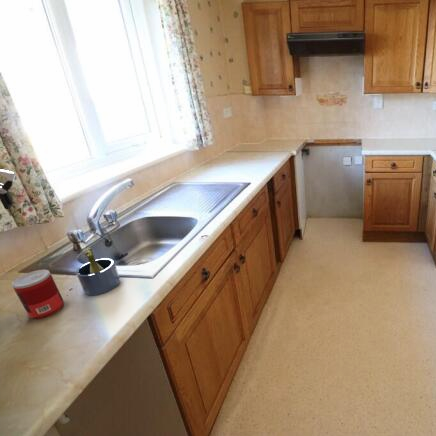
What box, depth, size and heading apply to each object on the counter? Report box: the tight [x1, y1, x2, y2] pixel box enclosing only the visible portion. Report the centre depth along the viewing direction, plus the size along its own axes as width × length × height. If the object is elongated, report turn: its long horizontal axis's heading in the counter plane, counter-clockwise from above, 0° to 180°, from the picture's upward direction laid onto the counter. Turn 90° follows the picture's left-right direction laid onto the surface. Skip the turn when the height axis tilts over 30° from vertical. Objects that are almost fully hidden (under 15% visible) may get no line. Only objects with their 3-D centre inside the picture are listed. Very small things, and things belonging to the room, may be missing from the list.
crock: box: [75, 257, 121, 296], centre depth 99 cm, size 10×10×7 cm
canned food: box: [11, 269, 65, 320], centre depth 89 cm, size 8×8×11 cm
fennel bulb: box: [84, 247, 105, 275], centre depth 98 cm, size 6×5×12 cm
